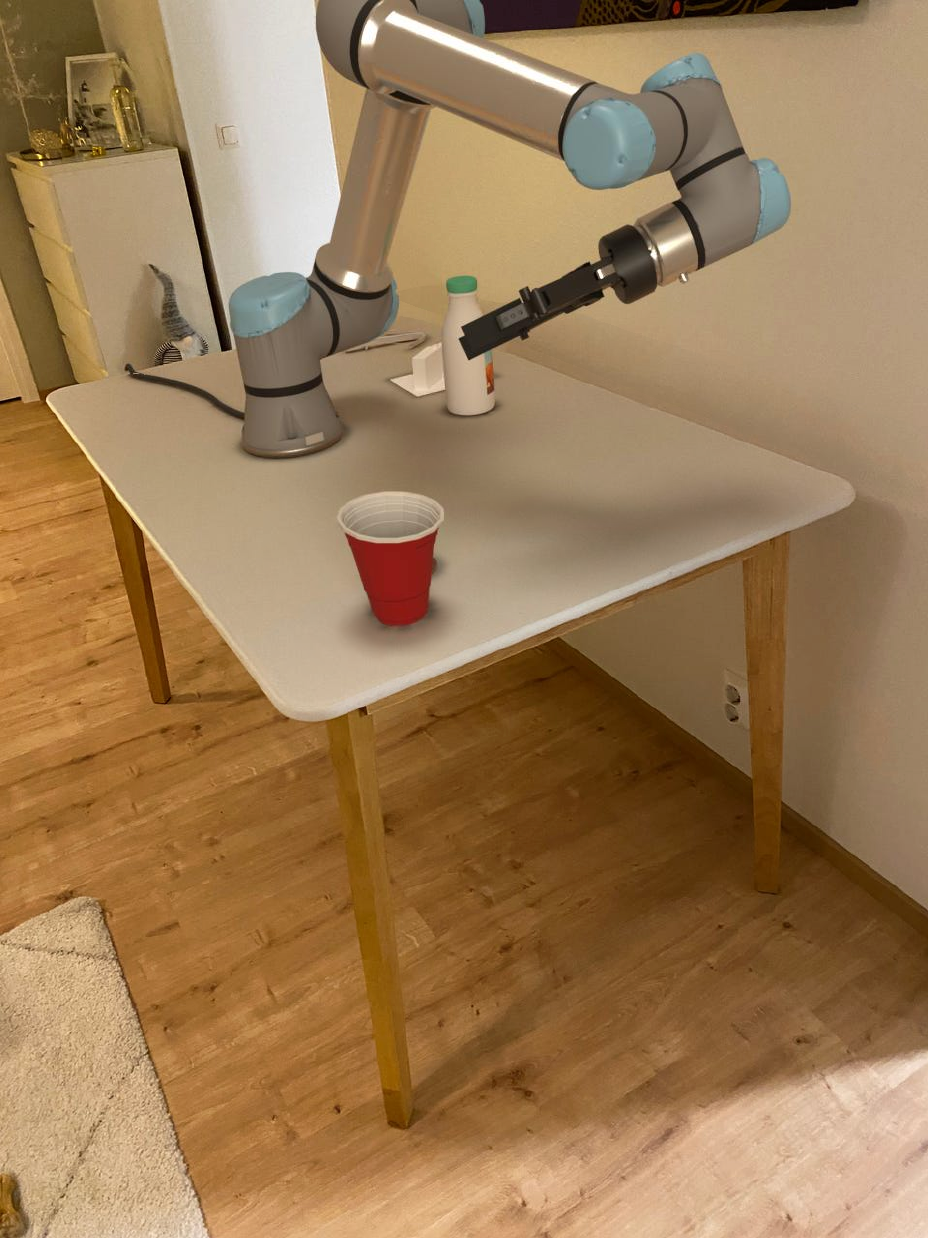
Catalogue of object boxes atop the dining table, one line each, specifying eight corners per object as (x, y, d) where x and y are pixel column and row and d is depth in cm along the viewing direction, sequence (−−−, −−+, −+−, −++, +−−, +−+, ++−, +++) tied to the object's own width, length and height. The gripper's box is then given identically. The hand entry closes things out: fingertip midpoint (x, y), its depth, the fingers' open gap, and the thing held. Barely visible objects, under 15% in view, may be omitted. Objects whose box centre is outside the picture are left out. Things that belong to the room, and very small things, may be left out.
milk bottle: (479, 419, 151) (469, 286, 140) (437, 413, 155) (425, 283, 144) (504, 402, 156) (496, 273, 146) (463, 397, 160) (453, 270, 149)
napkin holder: (417, 396, 162) (414, 362, 159) (388, 379, 170) (384, 347, 167) (495, 376, 167) (493, 343, 164) (463, 361, 176) (461, 329, 173)
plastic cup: (441, 642, 99) (430, 537, 92) (340, 637, 101) (322, 534, 95) (463, 588, 108) (454, 488, 101) (369, 584, 110) (354, 486, 104)
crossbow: (413, 333, 196) (413, 323, 195) (436, 349, 186) (435, 338, 185) (336, 343, 191) (335, 332, 190) (355, 359, 181) (354, 348, 180)
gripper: (688, 271, 92) (485, 371, 94) (635, 303, 117) (475, 382, 118) (656, 195, 91) (451, 297, 92) (610, 243, 115) (448, 323, 117)
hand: (464, 345), depth 105 cm, fingers open, 13 cm apart
